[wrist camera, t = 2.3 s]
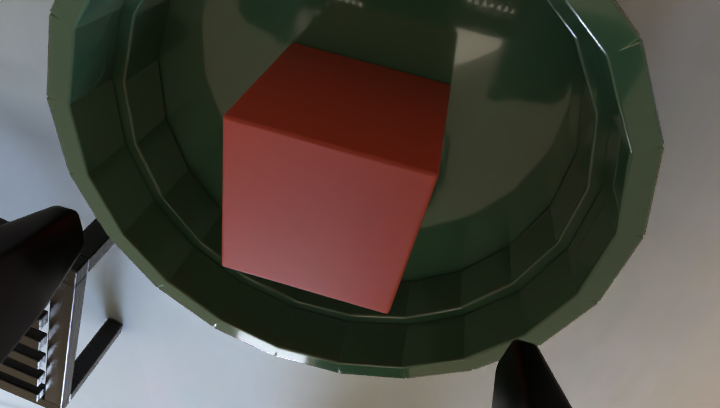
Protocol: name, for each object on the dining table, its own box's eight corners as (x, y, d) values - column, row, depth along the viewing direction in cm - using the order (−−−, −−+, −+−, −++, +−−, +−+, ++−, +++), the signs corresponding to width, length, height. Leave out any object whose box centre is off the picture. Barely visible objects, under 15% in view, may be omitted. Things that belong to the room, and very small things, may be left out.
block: (451, 83, 13) (439, 175, 9) (409, 209, 16) (388, 316, 12) (291, 40, 13) (221, 114, 10) (278, 172, 16) (220, 267, 12)
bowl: (755, 39, 11) (857, 115, 8) (436, 336, 20) (427, 428, 17) (198, -317, 10) (60, -393, 6) (115, 178, 18) (40, 247, 15)
